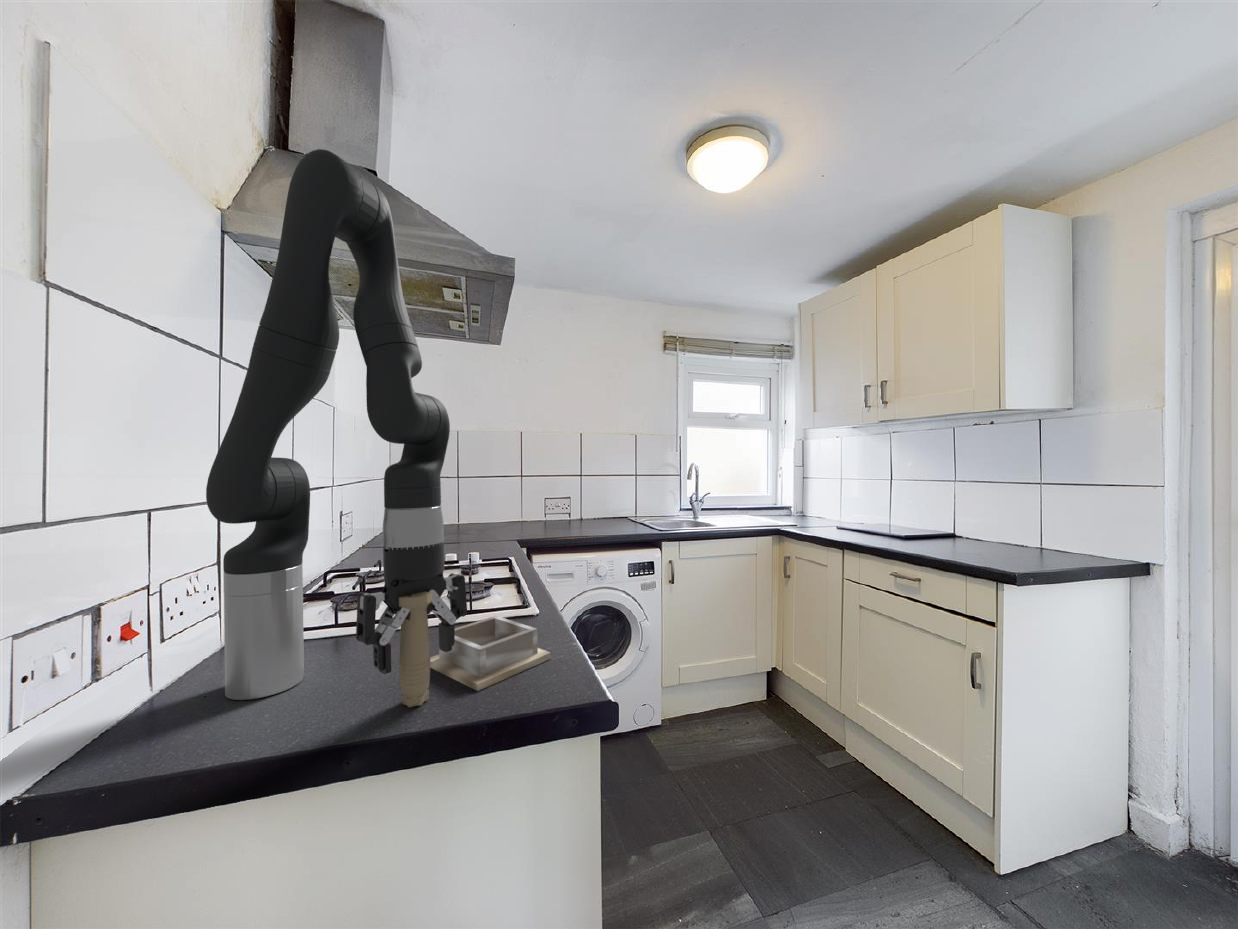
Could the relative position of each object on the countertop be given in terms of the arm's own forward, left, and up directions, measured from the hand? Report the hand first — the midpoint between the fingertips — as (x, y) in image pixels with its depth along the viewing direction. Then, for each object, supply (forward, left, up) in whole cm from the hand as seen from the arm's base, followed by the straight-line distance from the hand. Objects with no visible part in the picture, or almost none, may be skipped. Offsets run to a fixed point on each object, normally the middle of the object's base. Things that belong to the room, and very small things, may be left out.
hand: (416, 660), depth 64 cm
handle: (0, 0, -6) cm, 6 cm away
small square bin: (-3, +14, -6) cm, 15 cm away
